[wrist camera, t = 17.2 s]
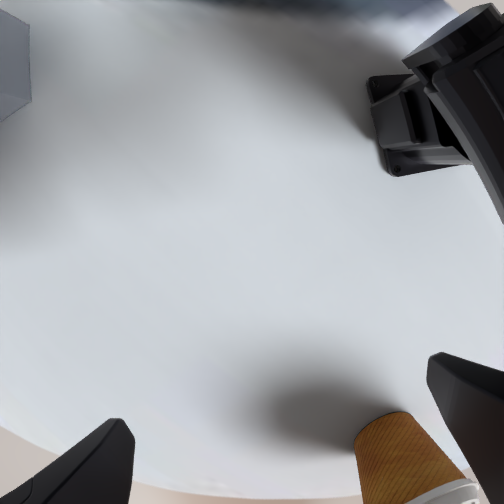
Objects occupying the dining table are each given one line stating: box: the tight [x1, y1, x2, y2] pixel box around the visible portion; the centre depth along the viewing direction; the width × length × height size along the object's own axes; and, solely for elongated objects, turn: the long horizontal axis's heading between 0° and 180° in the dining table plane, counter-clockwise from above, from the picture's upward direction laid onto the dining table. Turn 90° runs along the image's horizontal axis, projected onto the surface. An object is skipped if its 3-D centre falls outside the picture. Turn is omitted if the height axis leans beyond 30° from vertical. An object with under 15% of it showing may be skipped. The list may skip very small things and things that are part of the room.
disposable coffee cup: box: [354, 412, 480, 504], centre depth 17 cm, size 10×10×12 cm
